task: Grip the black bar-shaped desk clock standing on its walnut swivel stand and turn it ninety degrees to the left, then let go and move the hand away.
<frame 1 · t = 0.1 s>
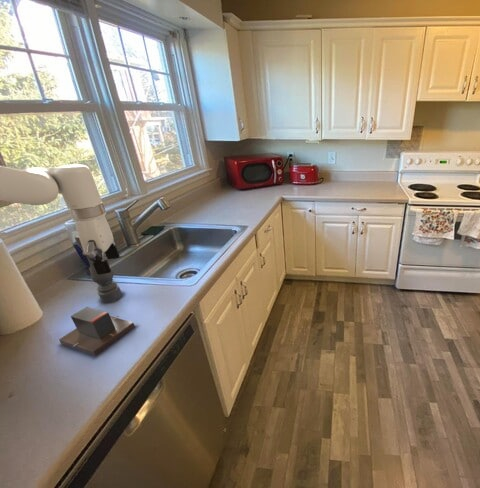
hand: (109, 265, 84), 19 cm above the countertop, tool pointing down, fingers open, 9 cm apart
candle holder: (112, 297, 101), on the countertop
clock: (93, 322, 81), point 5 cm above the countertop, hinge at 0.0°
clock stand: (99, 335, 84), on the countertop
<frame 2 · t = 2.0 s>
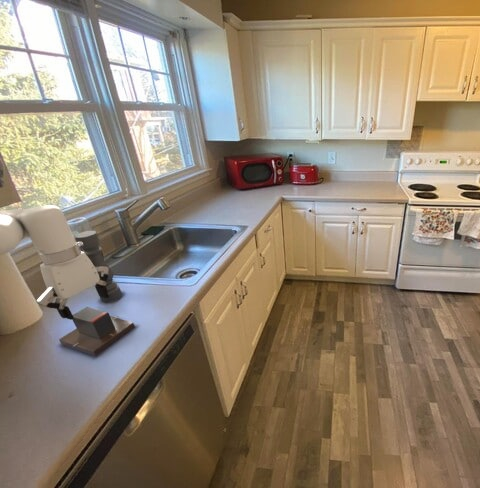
hand: (87, 306, 79), 11 cm above the countertop, tool pointing down, fingers open, 9 cm apart
nothing on the countertop moved.
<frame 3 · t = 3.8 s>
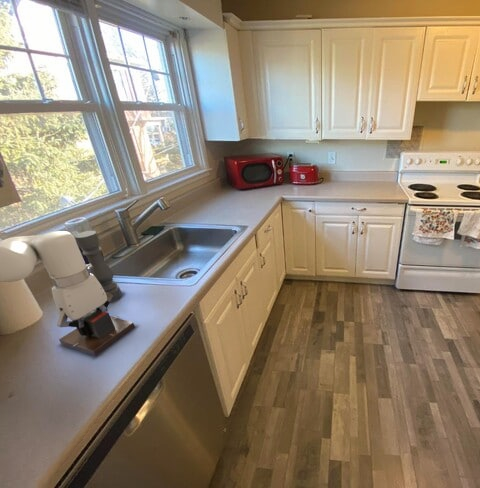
hand: (96, 328, 82), 3 cm above the countertop, tool pointing down, fingers closed on clock, 4 cm apart
clock: (93, 322, 81), point 5 cm above the countertop, hinge at 0.0°, touching gripper
everything else where it was.
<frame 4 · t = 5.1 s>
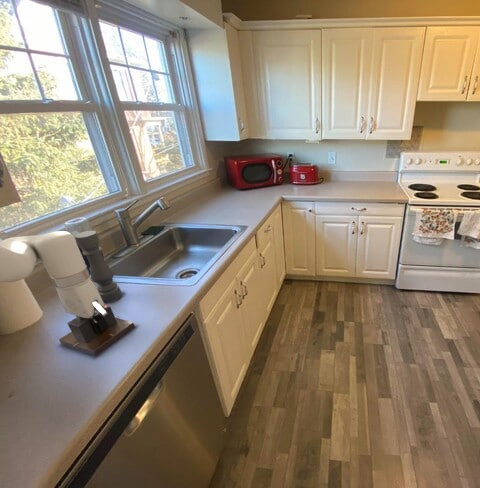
hand: (96, 328, 82), 3 cm above the countertop, tool pointing down, fingers open, 4 cm apart
clock: (93, 322, 81), point 5 cm above the countertop, hinge at 90.0°
everything else where it was.
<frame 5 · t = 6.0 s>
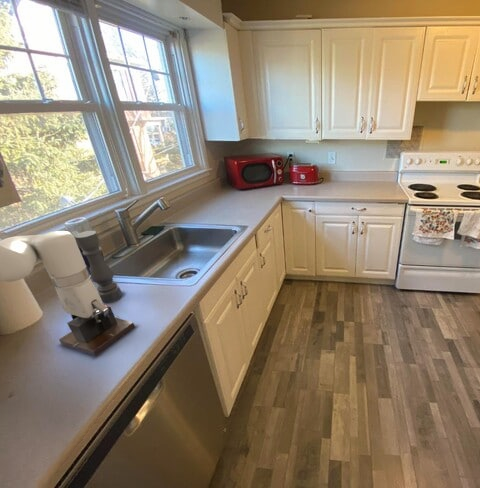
hand: (94, 326, 82), 4 cm above the countertop, tool pointing down, fingers open, 9 cm apart
nothing on the countertop moved.
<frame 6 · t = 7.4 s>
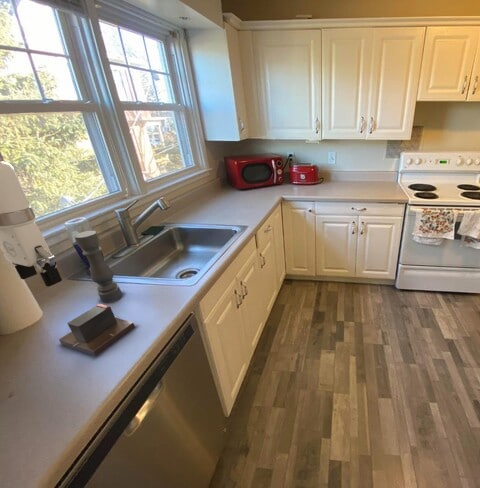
hand: (41, 280, 72), 22 cm above the countertop, tool pointing down, fingers open, 9 cm apart
nothing on the countertop moved.
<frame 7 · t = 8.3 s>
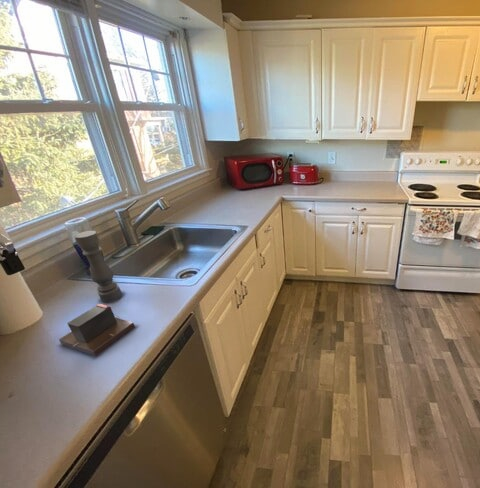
hand: (3, 269, 68), 26 cm above the countertop, tool pointing down, fingers open, 9 cm apart
nothing on the countertop moved.
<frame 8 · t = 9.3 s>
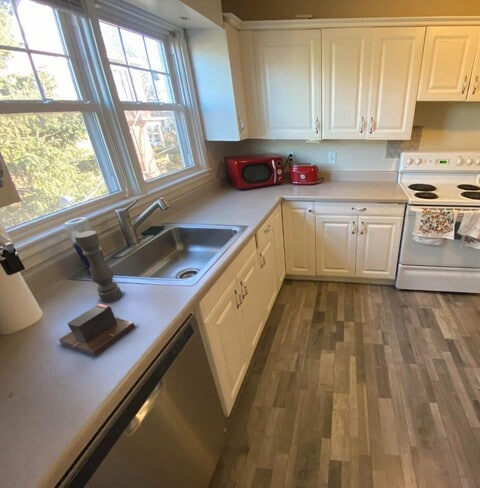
hand: (3, 269, 68), 26 cm above the countertop, tool pointing down, fingers open, 9 cm apart
nothing on the countertop moved.
at the end: clock at +90° (first picture: +0°) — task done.
